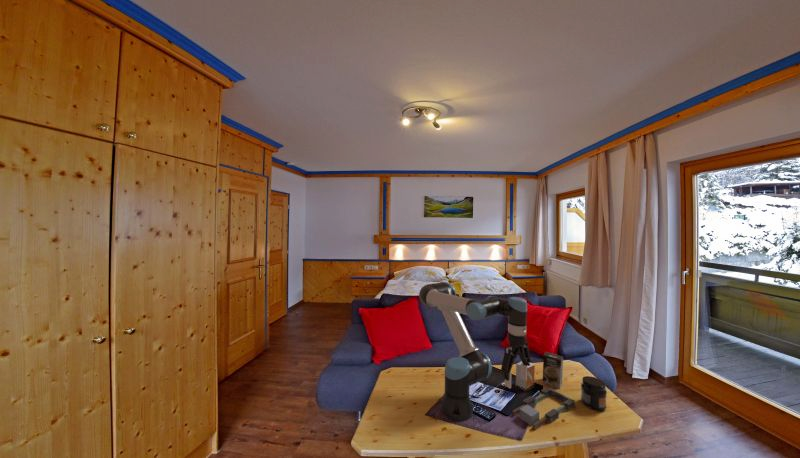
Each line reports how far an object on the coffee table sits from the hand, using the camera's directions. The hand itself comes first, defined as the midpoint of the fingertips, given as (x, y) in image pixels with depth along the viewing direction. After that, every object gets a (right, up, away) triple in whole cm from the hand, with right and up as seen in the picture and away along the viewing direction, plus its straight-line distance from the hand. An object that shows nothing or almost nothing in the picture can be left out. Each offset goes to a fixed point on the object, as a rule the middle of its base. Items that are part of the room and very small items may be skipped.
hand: (515, 382), depth 122 cm
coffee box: (+36, -20, +35) cm, 54 cm away
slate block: (+8, -20, +5) cm, 23 cm away
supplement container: (+46, -21, +17) cm, 53 cm away
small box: (+18, -20, +31) cm, 41 cm away
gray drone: (+18, -20, +12) cm, 30 cm away
